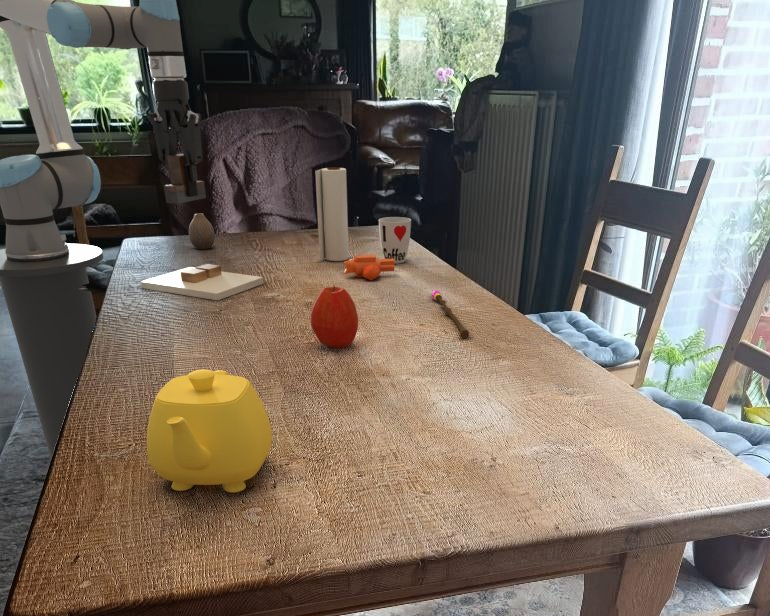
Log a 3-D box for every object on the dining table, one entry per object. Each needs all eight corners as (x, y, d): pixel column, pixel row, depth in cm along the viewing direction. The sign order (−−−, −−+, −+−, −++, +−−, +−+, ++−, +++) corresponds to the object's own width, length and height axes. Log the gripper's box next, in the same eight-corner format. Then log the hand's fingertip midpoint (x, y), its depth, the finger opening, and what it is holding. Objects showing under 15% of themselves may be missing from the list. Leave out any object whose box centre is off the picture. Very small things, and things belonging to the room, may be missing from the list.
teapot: (285, 443, 92) (277, 348, 86) (249, 526, 75) (235, 416, 69) (183, 440, 93) (166, 346, 86) (124, 522, 76) (98, 413, 70)
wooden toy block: (166, 202, 165) (159, 156, 160) (194, 197, 173) (188, 152, 168) (177, 203, 164) (170, 157, 159) (206, 197, 171) (200, 153, 166)
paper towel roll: (349, 256, 186) (346, 166, 175) (348, 261, 181) (345, 169, 170) (322, 256, 186) (317, 166, 175) (319, 261, 181) (315, 169, 170)
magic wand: (469, 341, 129) (435, 296, 154) (473, 332, 128) (438, 287, 153) (458, 338, 128) (425, 293, 153) (462, 328, 127) (429, 284, 152)
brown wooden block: (181, 281, 159) (180, 271, 158) (193, 277, 162) (192, 268, 161) (195, 283, 157) (193, 274, 156) (207, 279, 160) (206, 270, 159)
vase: (206, 251, 193) (201, 216, 188) (185, 249, 195) (180, 215, 190) (221, 246, 198) (217, 212, 193) (201, 244, 200) (196, 211, 196)
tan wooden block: (196, 276, 163) (195, 267, 162) (208, 272, 166) (207, 263, 165) (210, 278, 161) (209, 269, 160) (221, 274, 164) (220, 265, 163)
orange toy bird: (393, 248, 167) (342, 250, 165) (398, 266, 162) (346, 268, 160) (391, 268, 170) (342, 270, 169) (397, 285, 166) (346, 288, 164)
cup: (376, 264, 178) (375, 222, 173) (382, 257, 185) (381, 216, 180) (408, 265, 177) (408, 223, 172) (412, 258, 184) (413, 217, 179)
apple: (307, 352, 122) (303, 289, 117) (318, 337, 129) (314, 277, 124) (354, 354, 121) (352, 291, 116) (362, 339, 128) (361, 278, 123)
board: (142, 288, 160) (140, 281, 159) (190, 273, 172) (189, 266, 171) (217, 300, 151) (216, 293, 150) (263, 283, 163) (262, 277, 162)
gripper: (128, 80, 156) (148, 195, 168) (187, 79, 149) (202, 200, 162) (153, 79, 161) (170, 191, 174) (210, 79, 155) (223, 195, 167)
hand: (185, 195), depth 168 cm, fingers closed on wooden toy block, 3 cm apart
